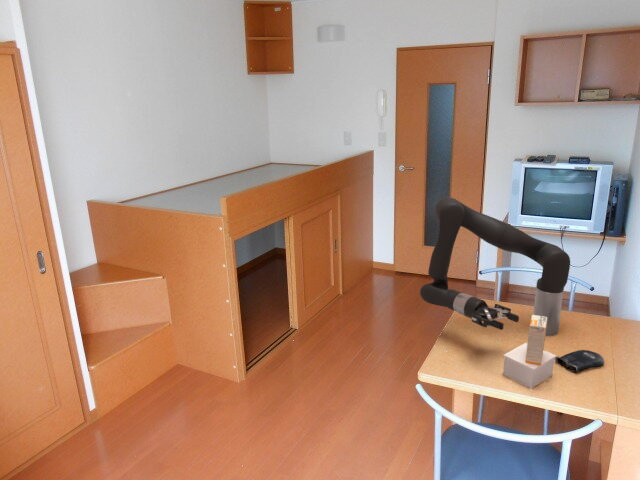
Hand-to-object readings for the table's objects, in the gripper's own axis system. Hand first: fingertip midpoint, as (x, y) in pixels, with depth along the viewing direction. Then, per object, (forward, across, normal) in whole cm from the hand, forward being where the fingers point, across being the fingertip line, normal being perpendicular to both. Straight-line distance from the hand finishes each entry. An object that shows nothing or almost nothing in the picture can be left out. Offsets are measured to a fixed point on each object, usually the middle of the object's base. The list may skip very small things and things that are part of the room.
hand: (510, 323), depth 162 cm
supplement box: (+10, 0, +8) cm, 13 cm away
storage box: (+8, 0, +16) cm, 17 cm away
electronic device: (+15, +20, +16) cm, 30 cm away
